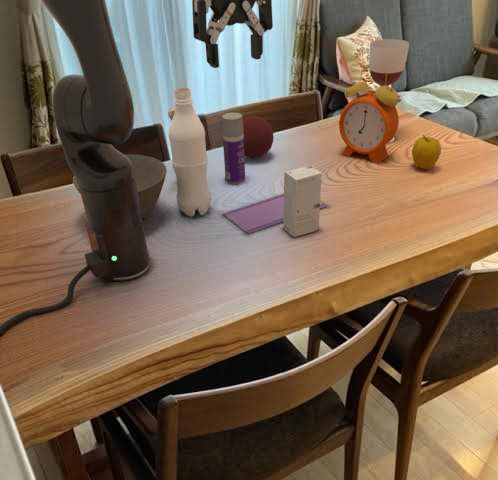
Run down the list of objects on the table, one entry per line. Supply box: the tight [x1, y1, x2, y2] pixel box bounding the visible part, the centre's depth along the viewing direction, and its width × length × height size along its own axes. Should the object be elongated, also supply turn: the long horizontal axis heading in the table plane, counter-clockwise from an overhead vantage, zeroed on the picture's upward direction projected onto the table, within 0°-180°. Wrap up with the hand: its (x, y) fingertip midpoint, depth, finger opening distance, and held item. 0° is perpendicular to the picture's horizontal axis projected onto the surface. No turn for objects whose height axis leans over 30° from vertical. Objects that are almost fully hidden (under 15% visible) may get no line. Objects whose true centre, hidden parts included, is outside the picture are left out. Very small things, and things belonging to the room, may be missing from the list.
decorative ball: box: [242, 115, 274, 159], centre depth 134 cm, size 10×10×10 cm
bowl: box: [72, 154, 167, 219], centre depth 112 cm, size 19×19×10 cm
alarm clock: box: [338, 68, 400, 164], centre depth 130 cm, size 13×6×20 cm, turn 53°
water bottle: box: [168, 86, 212, 217], centre depth 108 cm, size 7×7×25 cm
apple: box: [411, 134, 442, 170], centre depth 127 cm, size 6×6×8 cm
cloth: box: [222, 193, 328, 235], centre depth 115 cm, size 20×10×1 cm, turn 122°
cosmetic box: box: [283, 165, 323, 238], centre depth 105 cm, size 6×4×12 cm
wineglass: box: [368, 38, 410, 143], centre depth 138 cm, size 9×10×23 cm
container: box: [221, 112, 246, 185], centre depth 122 cm, size 5×5×15 cm
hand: (235, 62), depth 94 cm, fingers open, 8 cm apart
